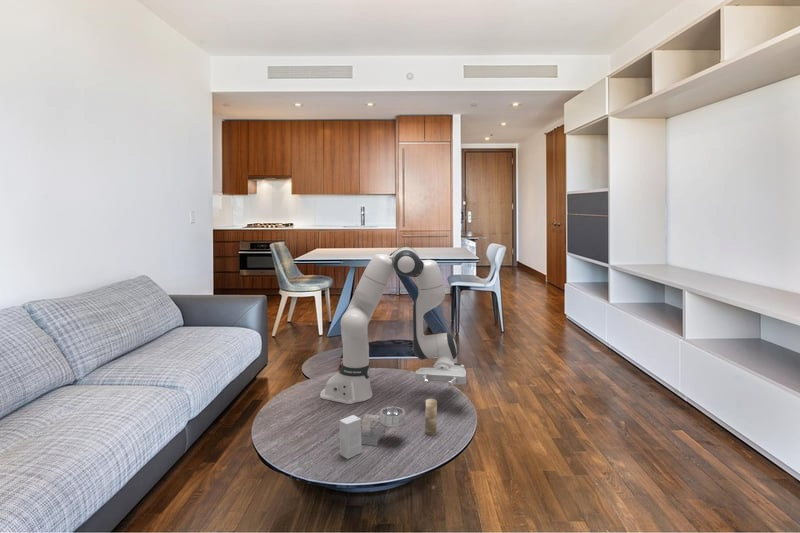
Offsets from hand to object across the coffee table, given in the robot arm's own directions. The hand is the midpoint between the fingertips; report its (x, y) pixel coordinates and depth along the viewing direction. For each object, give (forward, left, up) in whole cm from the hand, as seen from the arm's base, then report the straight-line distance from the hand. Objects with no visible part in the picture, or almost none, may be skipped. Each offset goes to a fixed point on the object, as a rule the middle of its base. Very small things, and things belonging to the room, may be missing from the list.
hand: (438, 383), depth 177 cm
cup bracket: (-17, -21, -14) cm, 31 cm away
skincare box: (-23, -33, -14) cm, 43 cm away
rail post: (0, -12, -14) cm, 19 cm away
